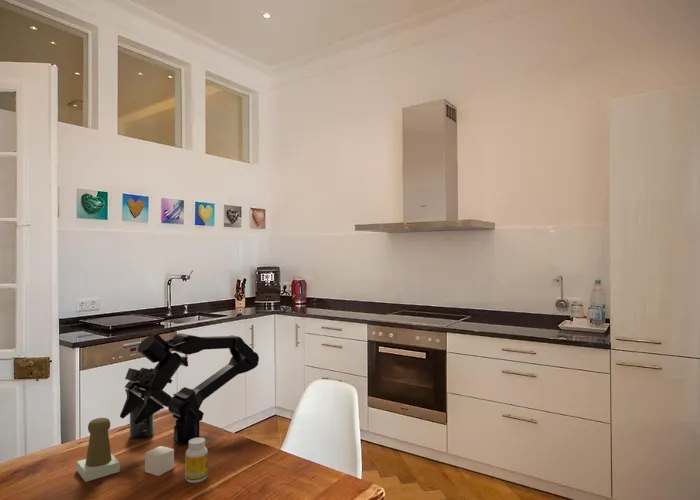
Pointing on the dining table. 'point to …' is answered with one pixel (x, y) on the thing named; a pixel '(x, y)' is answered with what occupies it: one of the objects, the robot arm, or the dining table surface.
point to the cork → (98, 443)
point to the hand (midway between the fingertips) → (127, 420)
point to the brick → (159, 460)
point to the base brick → (97, 469)
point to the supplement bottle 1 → (141, 425)
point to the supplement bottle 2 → (196, 461)
